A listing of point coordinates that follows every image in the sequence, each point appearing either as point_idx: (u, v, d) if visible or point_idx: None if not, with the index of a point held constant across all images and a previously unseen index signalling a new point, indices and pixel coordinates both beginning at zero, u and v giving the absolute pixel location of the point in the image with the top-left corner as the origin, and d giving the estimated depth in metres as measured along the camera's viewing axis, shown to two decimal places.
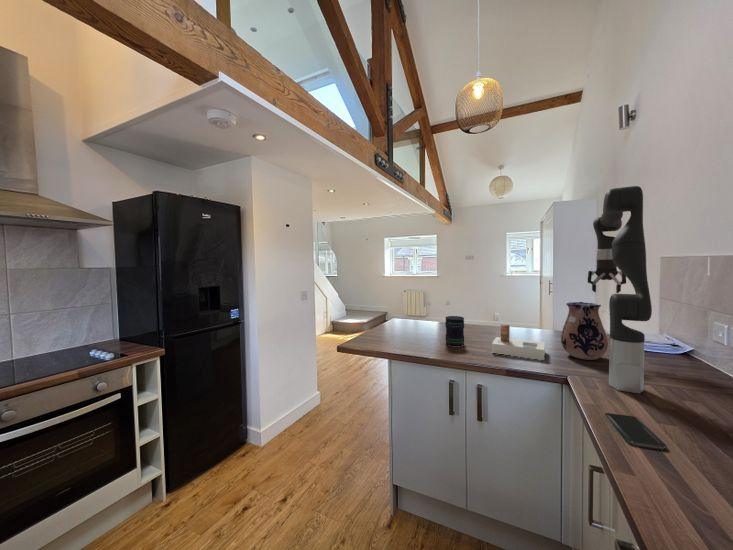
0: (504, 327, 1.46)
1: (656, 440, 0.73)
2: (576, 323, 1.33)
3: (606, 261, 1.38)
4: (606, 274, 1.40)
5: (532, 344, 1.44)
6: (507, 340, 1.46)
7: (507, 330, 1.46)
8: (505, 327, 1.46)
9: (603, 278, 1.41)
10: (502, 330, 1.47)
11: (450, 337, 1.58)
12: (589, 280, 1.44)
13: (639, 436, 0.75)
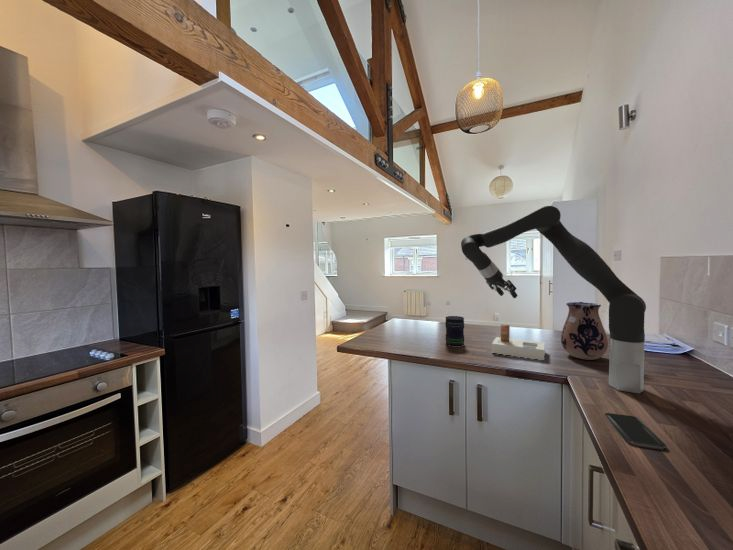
0: (504, 327, 1.46)
1: (656, 440, 0.73)
2: (576, 323, 1.33)
3: None
4: None
5: (532, 344, 1.44)
6: (507, 340, 1.46)
7: (507, 330, 1.46)
8: (505, 327, 1.46)
9: None
10: (502, 330, 1.47)
11: (450, 337, 1.58)
12: None
13: (639, 436, 0.75)
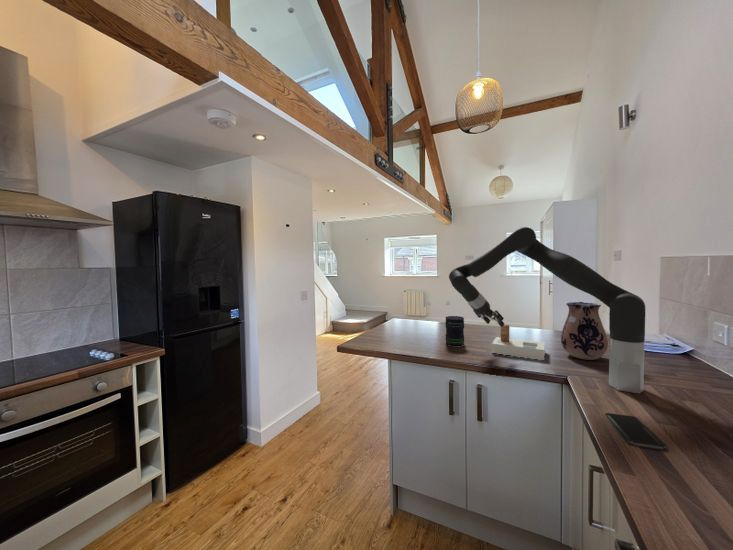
0: (504, 327, 1.46)
1: (656, 440, 0.73)
2: (576, 323, 1.33)
3: None
4: None
5: (532, 344, 1.44)
6: (507, 340, 1.46)
7: (507, 330, 1.46)
8: (505, 327, 1.46)
9: None
10: (502, 330, 1.47)
11: (450, 337, 1.58)
12: None
13: (639, 436, 0.75)
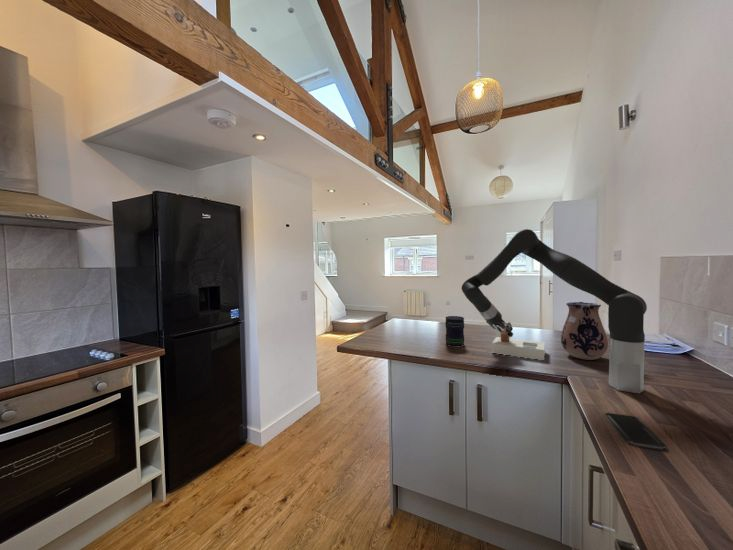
0: None
1: (656, 440, 0.73)
2: (576, 323, 1.33)
3: None
4: None
5: (532, 344, 1.44)
6: (507, 340, 1.46)
7: None
8: None
9: None
10: (502, 330, 1.47)
11: (450, 337, 1.58)
12: None
13: (639, 436, 0.75)
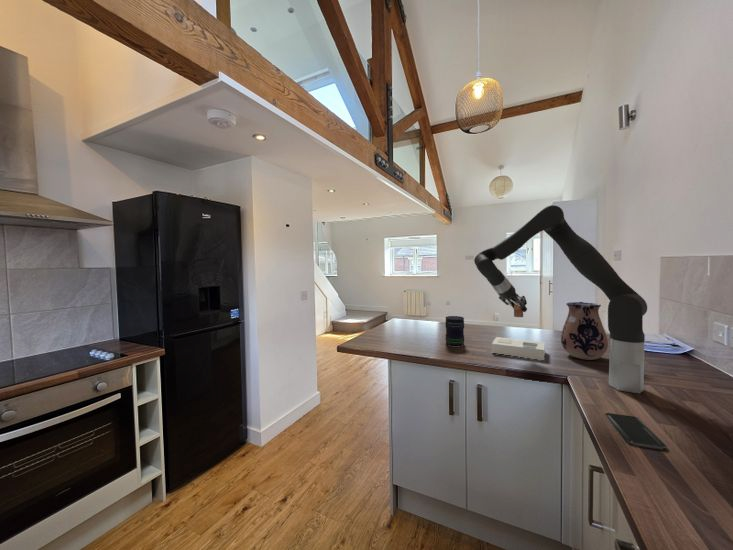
0: None
1: (656, 440, 0.73)
2: (576, 323, 1.33)
3: None
4: None
5: (532, 344, 1.44)
6: (521, 315, 1.42)
7: None
8: None
9: None
10: (515, 305, 1.42)
11: (450, 337, 1.58)
12: None
13: (638, 436, 0.75)
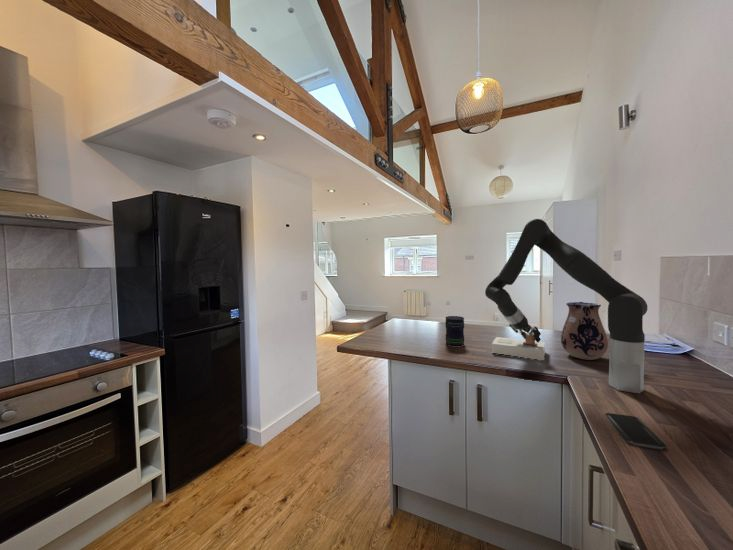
0: (529, 336, 1.40)
1: (656, 440, 0.73)
2: (576, 323, 1.33)
3: None
4: None
5: None
6: None
7: (533, 339, 1.40)
8: (530, 336, 1.40)
9: None
10: (527, 339, 1.41)
11: (450, 337, 1.58)
12: None
13: (638, 436, 0.75)
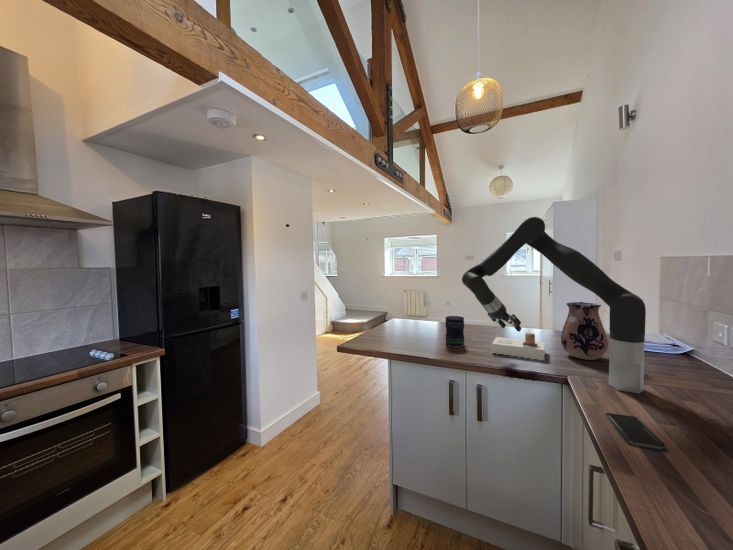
0: (529, 336, 1.40)
1: (656, 440, 0.73)
2: (576, 323, 1.33)
3: None
4: None
5: None
6: None
7: (532, 339, 1.40)
8: (530, 336, 1.40)
9: None
10: (527, 339, 1.41)
11: (450, 337, 1.58)
12: None
13: (638, 436, 0.75)
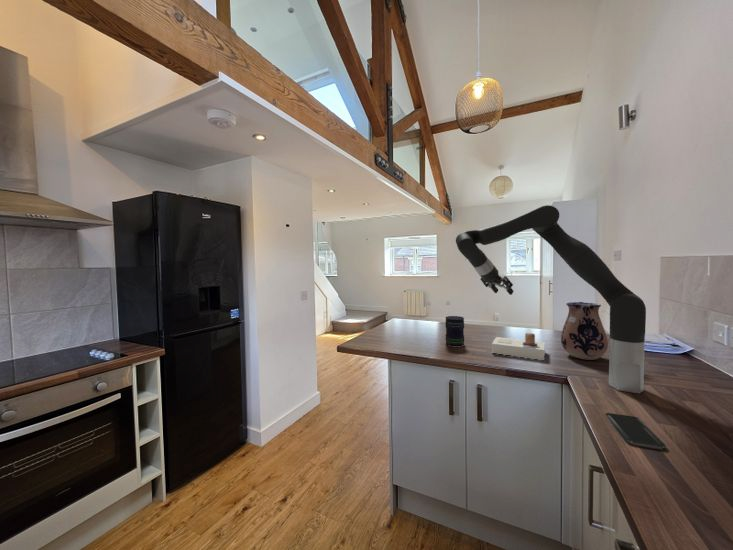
0: (529, 336, 1.40)
1: (656, 440, 0.73)
2: (576, 323, 1.33)
3: None
4: None
5: None
6: None
7: (532, 339, 1.40)
8: (530, 336, 1.40)
9: None
10: (527, 339, 1.41)
11: (450, 337, 1.58)
12: None
13: (638, 436, 0.75)
